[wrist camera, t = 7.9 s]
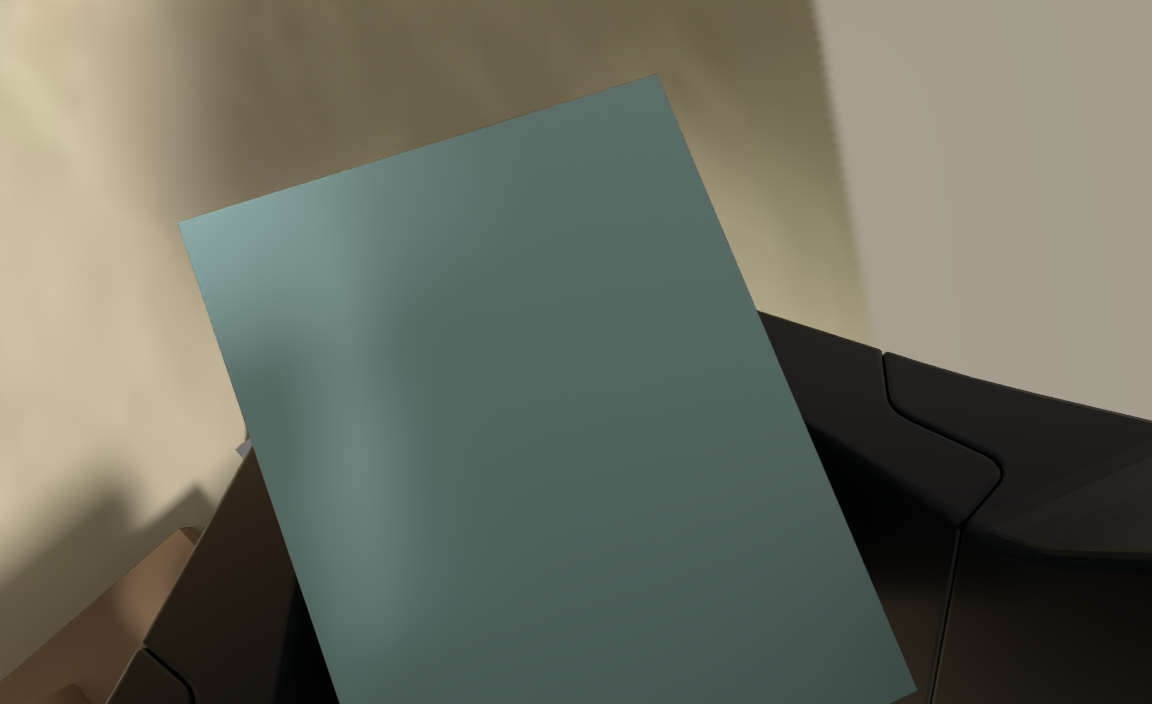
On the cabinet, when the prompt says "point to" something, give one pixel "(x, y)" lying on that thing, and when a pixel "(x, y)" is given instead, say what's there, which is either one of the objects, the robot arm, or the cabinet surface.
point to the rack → (101, 634)
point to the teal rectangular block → (537, 428)
